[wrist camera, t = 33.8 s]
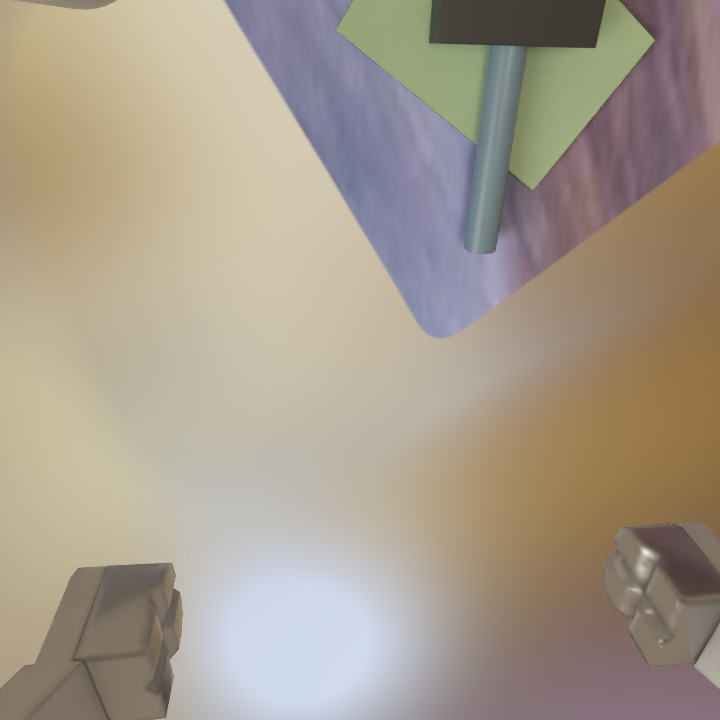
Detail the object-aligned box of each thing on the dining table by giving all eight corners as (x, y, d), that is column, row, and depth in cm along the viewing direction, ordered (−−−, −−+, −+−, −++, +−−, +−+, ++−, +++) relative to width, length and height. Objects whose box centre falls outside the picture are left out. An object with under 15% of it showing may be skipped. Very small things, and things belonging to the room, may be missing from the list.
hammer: (535, 243, 43) (551, 256, 40) (412, 244, 42) (420, 257, 39) (585, -7, 35) (608, -10, 32) (432, -13, 33) (444, -17, 31)
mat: (335, 29, 35) (336, 29, 34) (454, -175, 30) (457, -179, 30) (530, 188, 41) (533, 190, 41) (650, 40, 37) (655, 40, 36)
